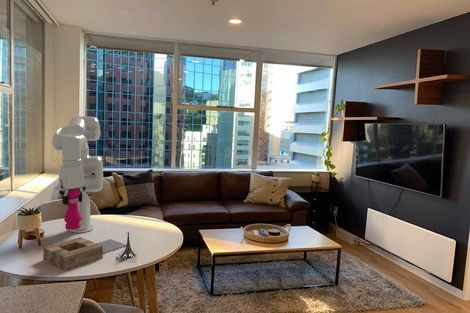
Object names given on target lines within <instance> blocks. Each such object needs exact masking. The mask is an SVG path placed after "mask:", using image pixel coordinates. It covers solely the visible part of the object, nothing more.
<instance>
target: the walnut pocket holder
mask: <svg viewBox="0 0 470 313" xmlns="http://www.w3.org/2000/svg"><path fill="white" fill-rule="evenodd" d="M97 243H98V242H94V241H91V240H89V239H86V238H84V237H81V236H79V237H77V238H73V239H68V240H65V241H61V242H58V243H55V244H50V245H47V246H43V247H42V251H43V253H42V254H43V255H42V257H43V261H44V262H46V263H48V264H50V265H52V266H55V267H56V268H58V269H60V270H61V271H65V272H66V271H69V270H71V269H74V268H77V267H81V266H83V265H86V264H89V263H92V262H96V261H99V260H101V259H103V258H104V254H103V245H100V244H97Z"/></svg>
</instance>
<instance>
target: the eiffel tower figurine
mask: <svg viewBox="0 0 470 313" xmlns="http://www.w3.org/2000/svg"><path fill="white" fill-rule="evenodd" d="M130 243H131V242H130V232H129V231H127V239H126V245H127V246H126V247H125V250H123V252H122V254H121V255H119V256H120V257H117V256H116V257H115V261H116V262H118V263H119V262H120V263H123V262H125V261H126V260H127V261H128V260H130V259H133V258H136V257H137V255H136V254H135V253H134V251H133V249H132V246H131V244H130ZM129 254H132V255H133V256H134V257H133V256H132V257H131V256H129ZM124 255H127V257H126V256H124ZM123 256H124V257H123ZM135 256H136V257H135ZM129 263H131V262H129Z"/></svg>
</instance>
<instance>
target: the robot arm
mask: <svg viewBox="0 0 470 313" xmlns="http://www.w3.org/2000/svg"><path fill="white" fill-rule="evenodd" d="M100 138H101V126H100V122H99V119H98V118H97V117H95V116H86V115H85V116H80V115H77V116H74V117H72V118H70V120H69V122H68V125H66V126H63V127H61V128H57V129H56V130H55V132H54V134H53V137H52V147H53V148H54V150H56V151H61V152H62V153H61V154H62V156H61V157H62V166H60V168H59V172H58V173H59V174H58V183H57V185H56V187H55V188H54V190H55V191H56V192H57V193H58V194H60V196H62V197H61V200H62V201H61V202H62V204H63V205H64V206H65V205H66V206H68V196H67V193H68V190H69V189H75V188H77V189H78V190H79V191H80V195H79V196H78V198H79V199H78V200H79V201H78V204H77V205H78V209H79V211H80V213H81V217H82V219H81V221H80V223H81V227H80V228H78V229H74V230H68V231H69V232H70V233H74V234H75V233H77V234H78V233H79V234H80V233H89V232H90V231H92V230H93V229H94V226H93V225H91V198H90V197H89V195H88V194H87V193H89V192H90V193H92V192H93V193H95V192H100V191H102V190H103V189H104V188H103V187H104V165H103V164H104V163H103V158H102V157H101V156H98V155H90V152H89V151H90V147H89V145H88V141H91V142H93V141H94V142H96V141H98V140H99V139H100ZM85 173H87V174H85ZM90 173H93V174H90Z"/></svg>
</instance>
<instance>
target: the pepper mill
mask: <svg viewBox="0 0 470 313" xmlns="http://www.w3.org/2000/svg"><path fill="white" fill-rule="evenodd" d="M79 195H80V191H79V190H78V189H77V188H75V189H69V190H68V193H67V196H68V205H67V209H66V211H65V214H64V217H63V220H64V221H63V222H64V223H65V230H68V231H69V230H74V229H78V228H80V227H81V223H80V221H81V219H82V217H81V213H80V211H79V209H78V205H77V204H78V201H79V200H78V199H79V198H78V196H79Z"/></svg>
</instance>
